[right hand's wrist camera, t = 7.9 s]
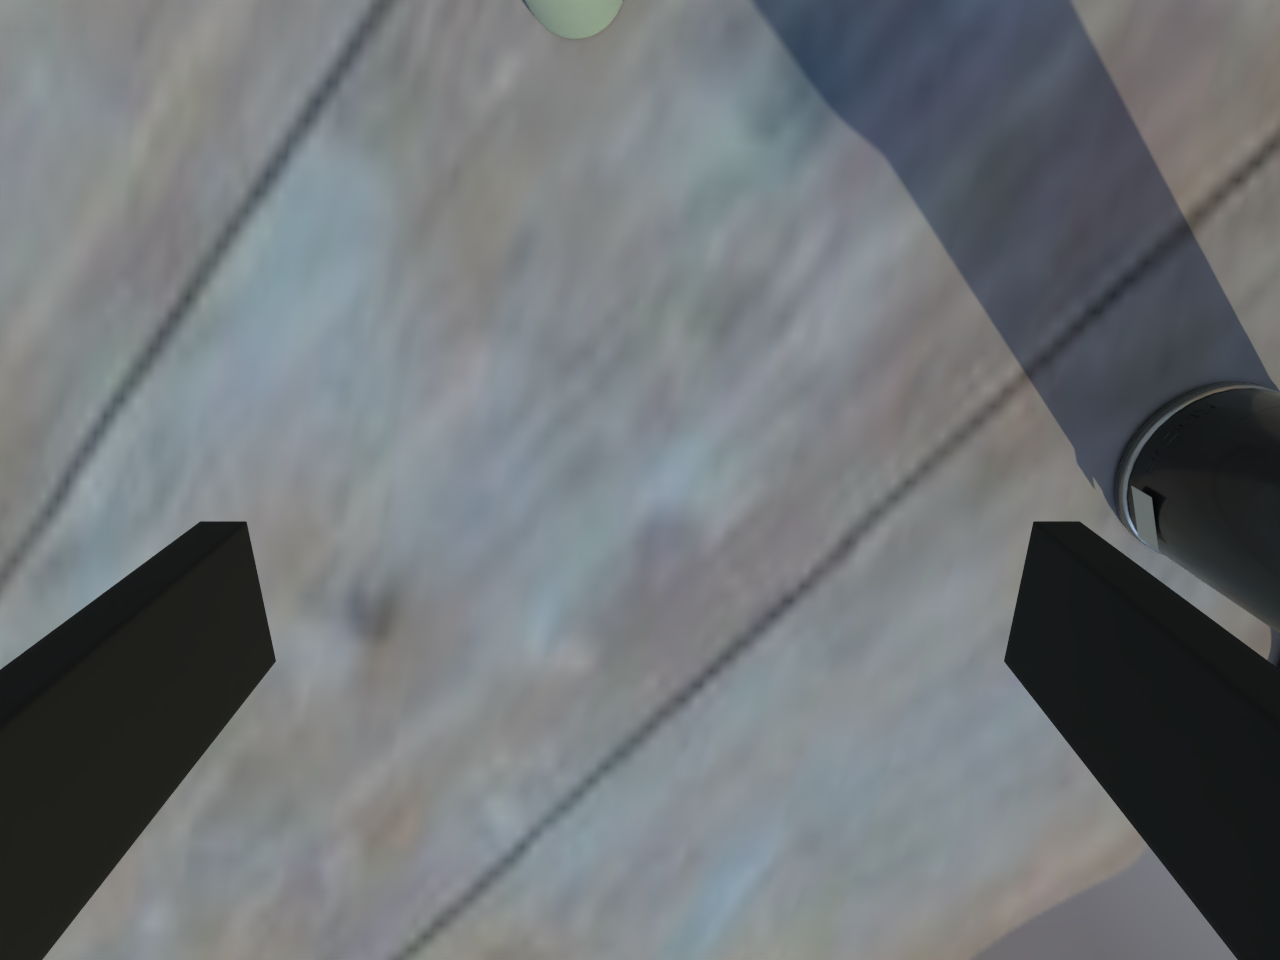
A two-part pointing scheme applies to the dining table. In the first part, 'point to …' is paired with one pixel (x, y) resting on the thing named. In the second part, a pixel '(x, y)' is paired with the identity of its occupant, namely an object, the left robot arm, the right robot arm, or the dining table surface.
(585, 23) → the bottle
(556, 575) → the dining table surface
